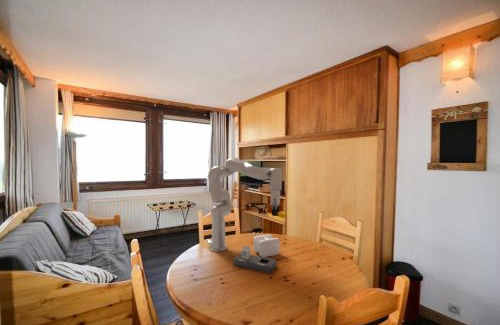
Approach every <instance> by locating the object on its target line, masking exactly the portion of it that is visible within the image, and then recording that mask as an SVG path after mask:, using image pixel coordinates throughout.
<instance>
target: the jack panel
mask: <svg viewBox="0 0 500 325" xmlns="http://www.w3.org/2000/svg"><path fill="white" fill-rule="evenodd" d="M233 266H236V267H240V268H244V269H249V270H252V271H256V272H261V273H267V274H272V273H273V272H274V271H275V269H276V268H277V259H274V258H270V257H261V256H260V255H259V256H258V255H255V254H254V255H253V254H250V259H249V260H246V259H242V252H240V253H239V254H238V255H237V256H235V257H234V258H233Z"/></svg>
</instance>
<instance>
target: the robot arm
mask: <svg viewBox="0 0 500 325" xmlns="http://www.w3.org/2000/svg"><path fill="white" fill-rule="evenodd" d="M236 172H237V173H240V174H243V175H245V176H248V177H249V178H253V179H257V180H259V181H261V180H267V179H269V190H270V203H269V205H270V206H271V216H272V217H274V216H275V217H277V216H278V213H280V204H281V191H282V188H283V185H282V184H283V181H282V179H283V178H282V177H283V171H282V168H281V167H280V168H279V167H260V166H255V165H252V164H250V162H249V161H246V160H242V159H241V158H239V157H230V158H228V159H227V160H226V161H225V165H217V166H213V167H212V168H210V169H209V171H208V174H207V175H208V176H207V177H208V179H207V180H208V183H209V184H208V185H209V190H210V198H211V201H212V203H214V204H216V205H213V207H211V209H210V216H211V217H210V219H211V240H208V241H207V245H209V250H210V251H212V252H216V253H217V252H224V251H226V250H227V249H228V245H227V244H226V222H225V218H224V217H227V216H228V215H230V214H231V213H232V203H231V202H232V201H231V194H230V192H229V191H228V189H226V188H223V187H222V182H221V178H227V177H230V176H231V175H234V174H235V173H236Z"/></svg>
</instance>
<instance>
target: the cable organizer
mask: <svg viewBox="0 0 500 325" xmlns="http://www.w3.org/2000/svg"><path fill="white" fill-rule="evenodd" d="M280 243H281V241H280V238H278V237H274V238H273V235H272V234H270V233H269V234H263V235H256V236H254V237H253V252H254V253H256V254H258V255H259V257H264V258H268V257H275V256H276V255H279V254H280V251H281V250H280V246H281V245H280Z"/></svg>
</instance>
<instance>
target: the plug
mask: <svg viewBox="0 0 500 325" xmlns="http://www.w3.org/2000/svg"><path fill="white" fill-rule="evenodd" d="M241 253H242V259H246V260H249V259H250V255H251V247H250V246H248V245H244V246H243V247H242V248H241Z"/></svg>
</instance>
